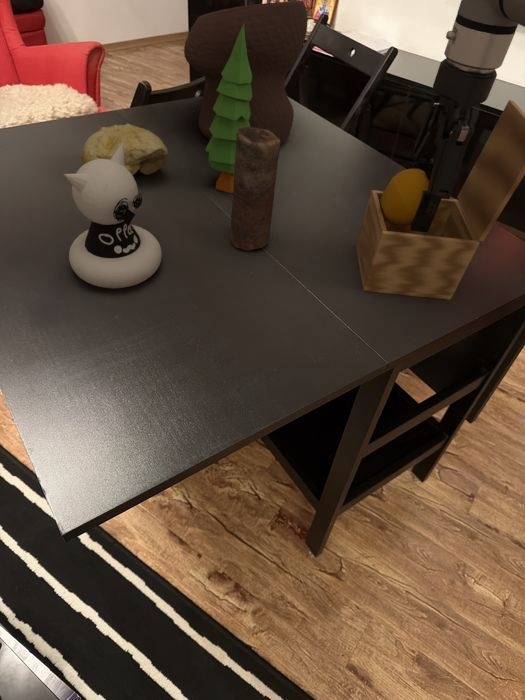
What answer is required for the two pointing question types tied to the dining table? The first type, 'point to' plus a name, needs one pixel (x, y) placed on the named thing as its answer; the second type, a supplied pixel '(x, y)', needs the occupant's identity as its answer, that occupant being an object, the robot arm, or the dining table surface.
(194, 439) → the dining table surface
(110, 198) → the decorative figurine
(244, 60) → the decorative tree
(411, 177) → the apple
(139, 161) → the beige rounded lump
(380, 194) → the chest
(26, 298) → the dining table surface
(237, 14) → the vase
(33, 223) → the dining table surface
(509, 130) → the lid
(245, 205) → the brown upright cylinder
